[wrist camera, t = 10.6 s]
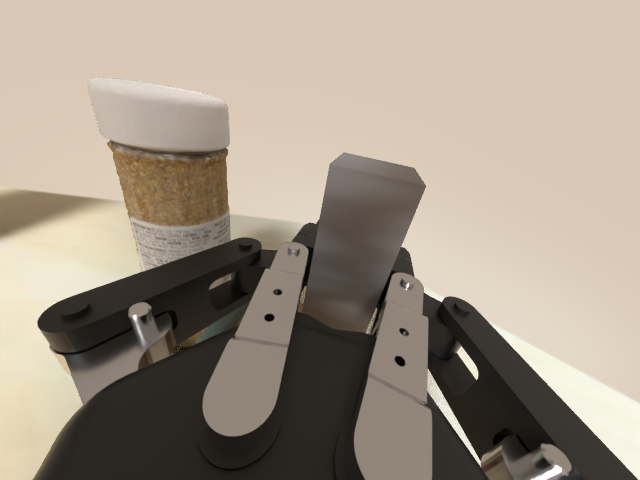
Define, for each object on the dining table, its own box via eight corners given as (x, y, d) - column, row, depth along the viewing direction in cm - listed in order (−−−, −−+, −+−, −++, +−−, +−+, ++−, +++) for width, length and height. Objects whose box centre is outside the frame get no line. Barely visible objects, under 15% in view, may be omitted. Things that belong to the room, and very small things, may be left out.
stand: (63, 349, 12) (-107, 85, 6) (183, 263, 20) (157, 104, 14) (341, 460, 10) (476, 228, 4) (358, 318, 18) (417, 160, 12)
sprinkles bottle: (185, 291, 17) (150, 82, 11) (244, 302, 18) (244, 100, 11) (139, 344, 13) (38, 64, 7) (215, 358, 14) (188, 94, 7)
